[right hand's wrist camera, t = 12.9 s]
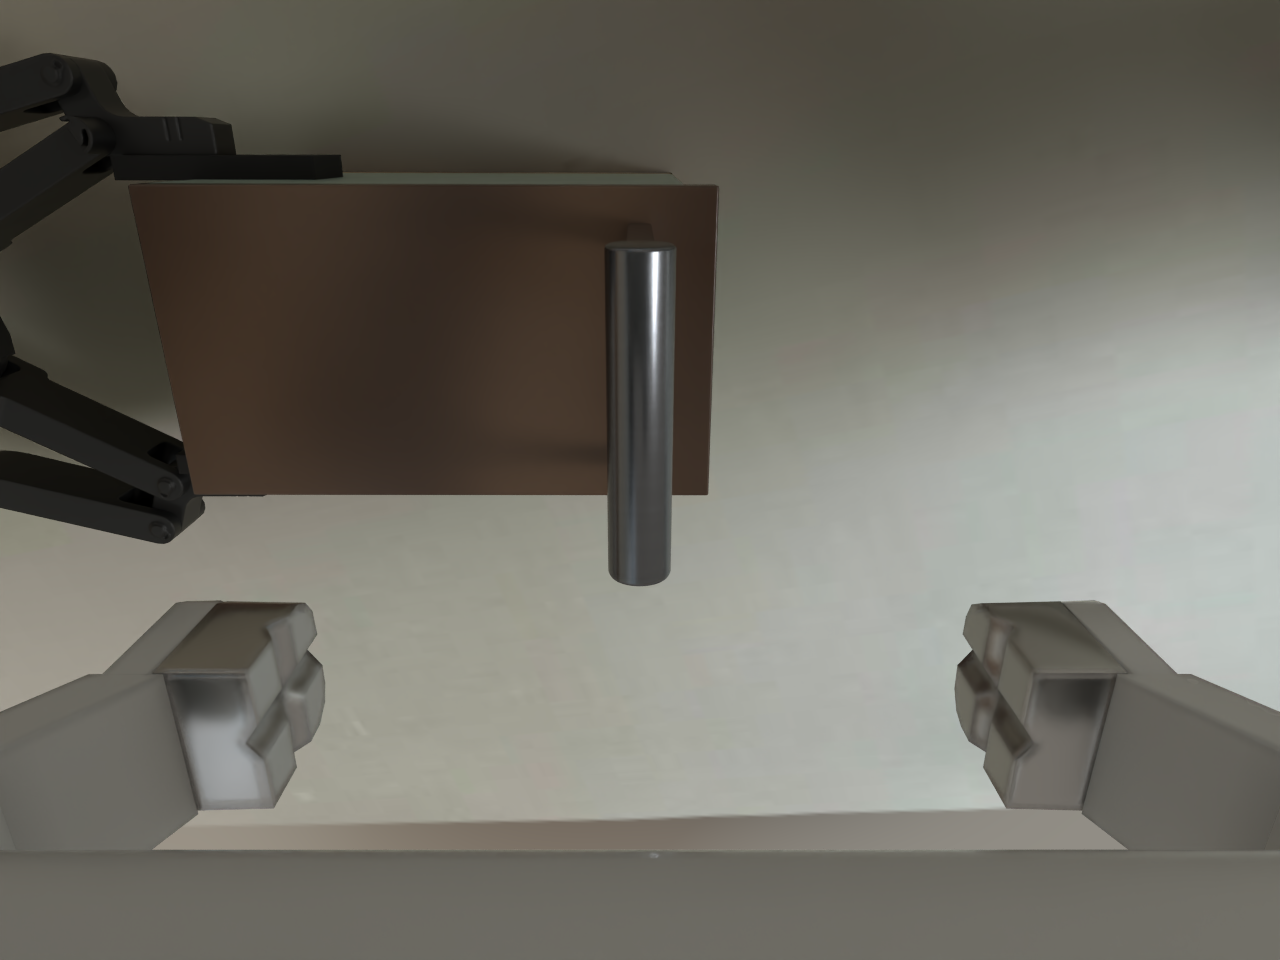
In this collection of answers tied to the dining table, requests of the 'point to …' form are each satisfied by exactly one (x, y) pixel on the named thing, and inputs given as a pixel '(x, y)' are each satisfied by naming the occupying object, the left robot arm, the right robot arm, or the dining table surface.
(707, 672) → the dining table surface
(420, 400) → the lid
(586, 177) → the chest
